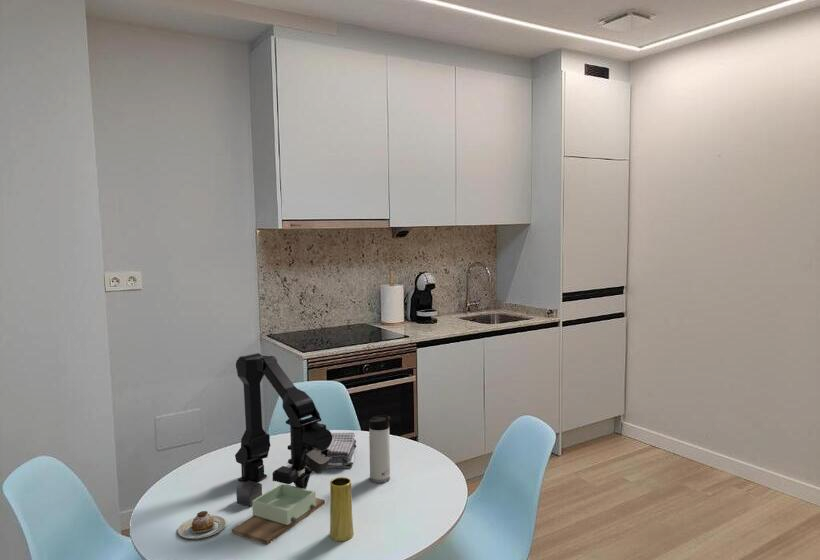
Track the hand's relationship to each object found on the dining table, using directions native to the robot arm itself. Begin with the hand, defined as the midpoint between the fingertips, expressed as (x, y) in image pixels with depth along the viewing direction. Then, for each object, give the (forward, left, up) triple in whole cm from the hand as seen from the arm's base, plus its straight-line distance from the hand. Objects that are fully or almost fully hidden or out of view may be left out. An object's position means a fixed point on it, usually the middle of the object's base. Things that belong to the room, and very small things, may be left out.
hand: (302, 494), depth 165 cm
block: (-14, -7, -3) cm, 16 cm away
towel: (-11, +28, -3) cm, 30 cm away
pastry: (-15, -23, -3) cm, 28 cm away
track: (0, -10, -2) cm, 10 cm away
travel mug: (+12, +23, -3) cm, 27 cm away
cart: (0, -8, -1) cm, 8 cm away
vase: (+20, -10, -3) cm, 22 cm away
